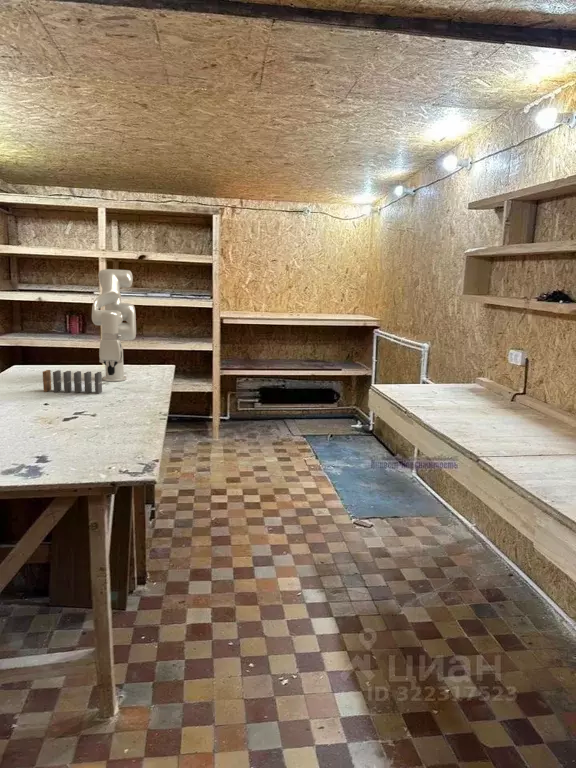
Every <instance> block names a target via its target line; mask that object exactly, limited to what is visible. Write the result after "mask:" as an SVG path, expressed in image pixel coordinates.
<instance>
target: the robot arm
mask: <svg viewBox="0 0 576 768" xmlns="http://www.w3.org/2000/svg"><path fill="white" fill-rule="evenodd" d="M133 279H134V277H133V273H132V271H131V270H128V269H115V268H114V269H111V268H107V269H106V268H104V269H101V270H99V271H98V280H99V284H100V286H101V294H100V295H98V296H97V298H96V299H95V300H94V301H93V303H92V308H91V321H92V323H93V324H94V326H101V340H100V341H99V342H100V343H99V351H98V354H99V355H98V357H99V360H98V361H99V363H101V364H104V366H105V370H104V371H105V376H102V380H103V381H105V382H123V381H126V380H127V378H128V377H127V376H125V375H124V374H125V373H124V348H123V346H122V342H121V341H133V340H136V336H137V320H136V319H137V317H136V316H137V315H136V308H135V305H134V304H133V303H128V302H122V297H121V296H122V293H121V292H120V291H121V290H120V289H121V288H126V289H127V288H131V287H132V285H133V282H134V280H133ZM103 307H104V309H101V308H103ZM123 321H126V322H123Z"/></svg>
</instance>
